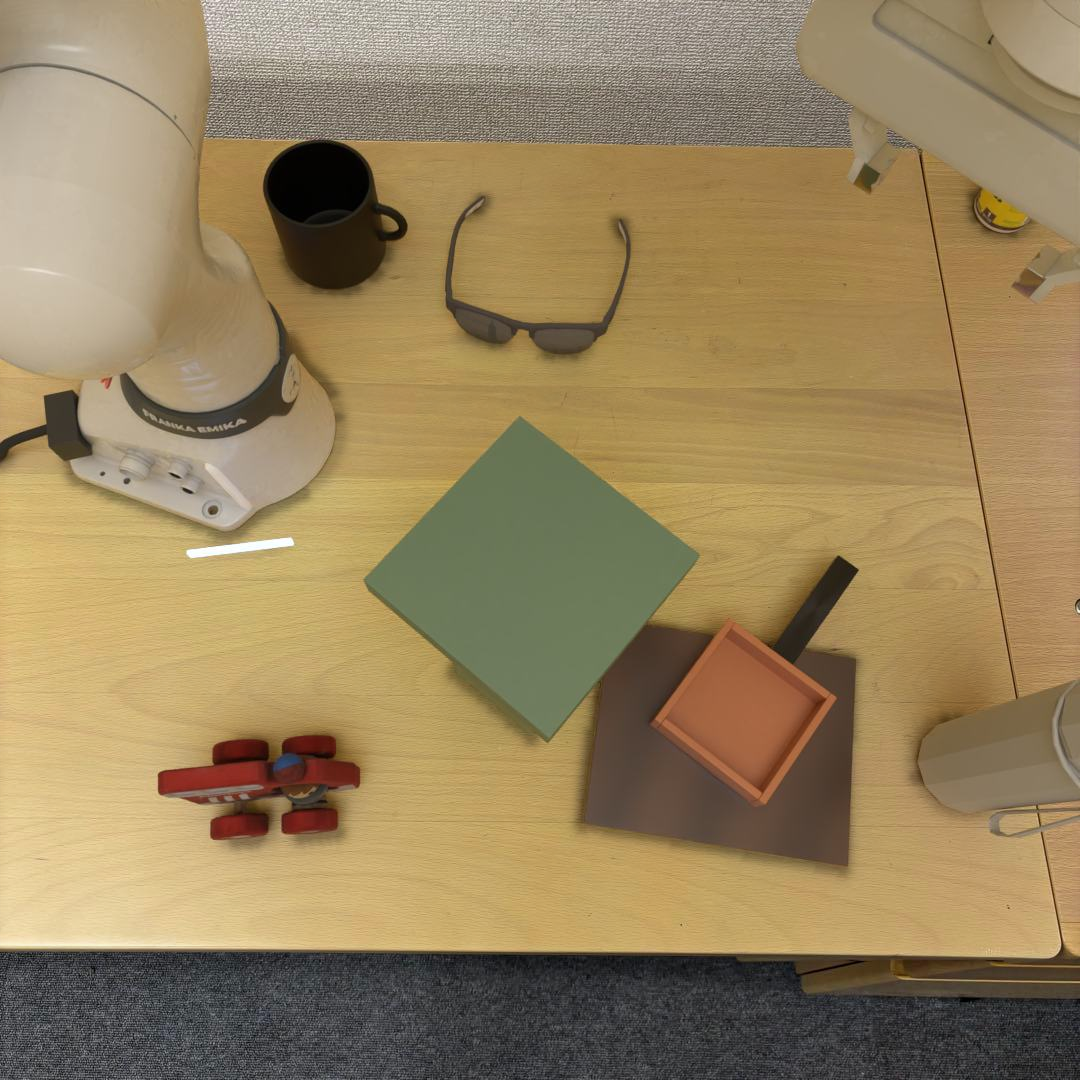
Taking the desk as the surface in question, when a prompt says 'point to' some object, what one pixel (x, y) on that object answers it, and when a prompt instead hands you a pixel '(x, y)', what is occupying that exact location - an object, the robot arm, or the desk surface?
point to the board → (692, 791)
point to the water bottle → (1009, 757)
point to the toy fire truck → (266, 784)
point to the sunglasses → (542, 334)
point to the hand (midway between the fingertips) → (945, 232)
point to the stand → (531, 577)
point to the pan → (753, 698)
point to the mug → (328, 213)
